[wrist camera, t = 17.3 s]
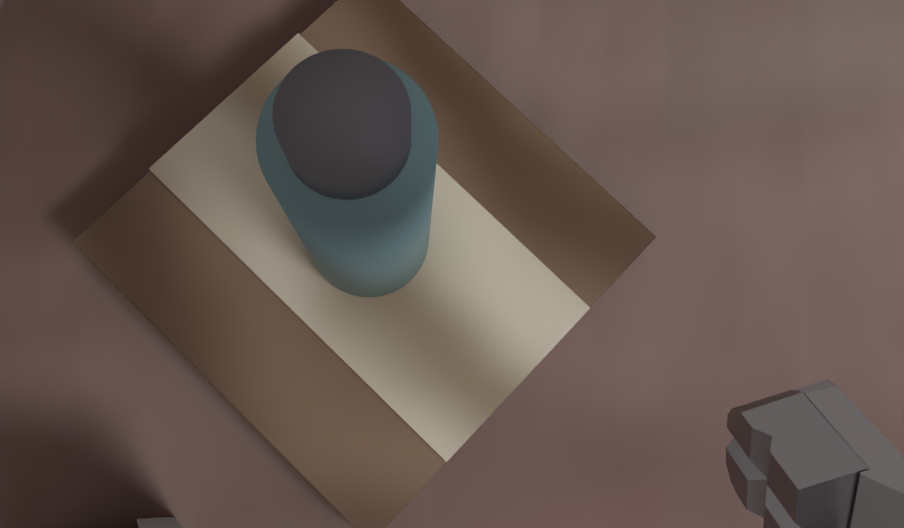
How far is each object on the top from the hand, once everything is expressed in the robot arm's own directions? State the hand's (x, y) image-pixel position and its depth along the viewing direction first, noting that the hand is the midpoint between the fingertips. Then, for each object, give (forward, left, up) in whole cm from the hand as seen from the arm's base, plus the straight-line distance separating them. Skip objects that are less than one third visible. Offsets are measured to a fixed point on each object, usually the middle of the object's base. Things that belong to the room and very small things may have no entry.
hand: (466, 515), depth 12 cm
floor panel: (-4, -7, -17) cm, 19 cm away
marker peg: (-4, -7, -15) cm, 17 cm away
